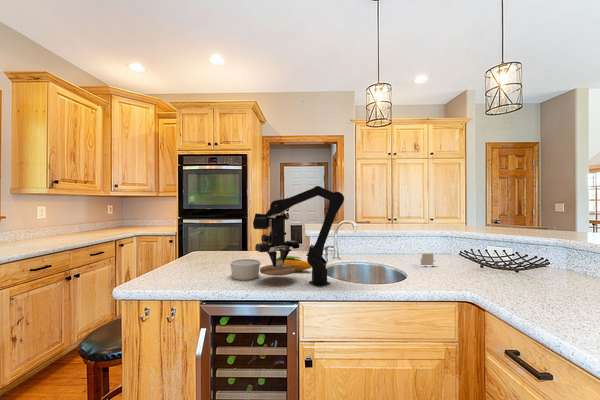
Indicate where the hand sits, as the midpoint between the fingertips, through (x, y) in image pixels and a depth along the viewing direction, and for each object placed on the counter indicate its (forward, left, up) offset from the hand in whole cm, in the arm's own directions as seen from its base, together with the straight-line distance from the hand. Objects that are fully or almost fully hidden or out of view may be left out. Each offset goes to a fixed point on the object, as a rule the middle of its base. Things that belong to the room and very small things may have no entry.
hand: (277, 266), depth 114 cm
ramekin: (+14, +9, -7) cm, 18 cm away
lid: (0, 0, -2) cm, 2 cm away
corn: (+11, -14, -7) cm, 19 cm away
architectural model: (-20, -78, -7) cm, 81 cm away
